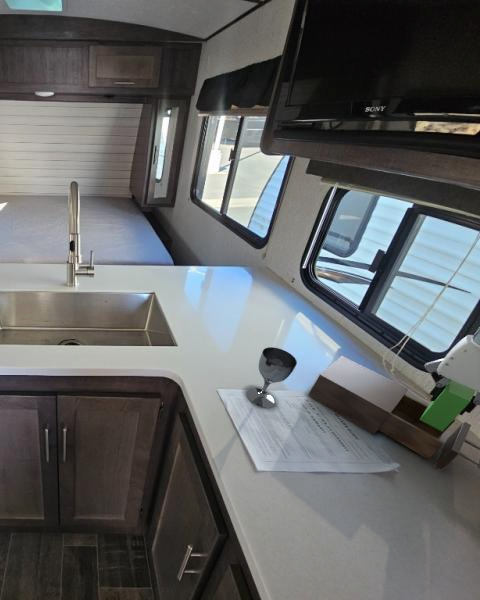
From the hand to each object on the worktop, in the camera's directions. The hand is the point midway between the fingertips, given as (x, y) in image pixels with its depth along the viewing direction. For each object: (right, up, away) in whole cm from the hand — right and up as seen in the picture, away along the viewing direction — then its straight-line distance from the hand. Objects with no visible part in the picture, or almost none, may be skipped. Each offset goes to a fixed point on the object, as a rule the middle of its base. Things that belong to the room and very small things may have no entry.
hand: (447, 404), depth 74 cm
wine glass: (-34, -4, +17) cm, 38 cm away
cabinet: (-9, -5, +16) cm, 19 cm away
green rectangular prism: (0, -4, +3) cm, 5 cm away
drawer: (0, -11, +5) cm, 12 cm away
